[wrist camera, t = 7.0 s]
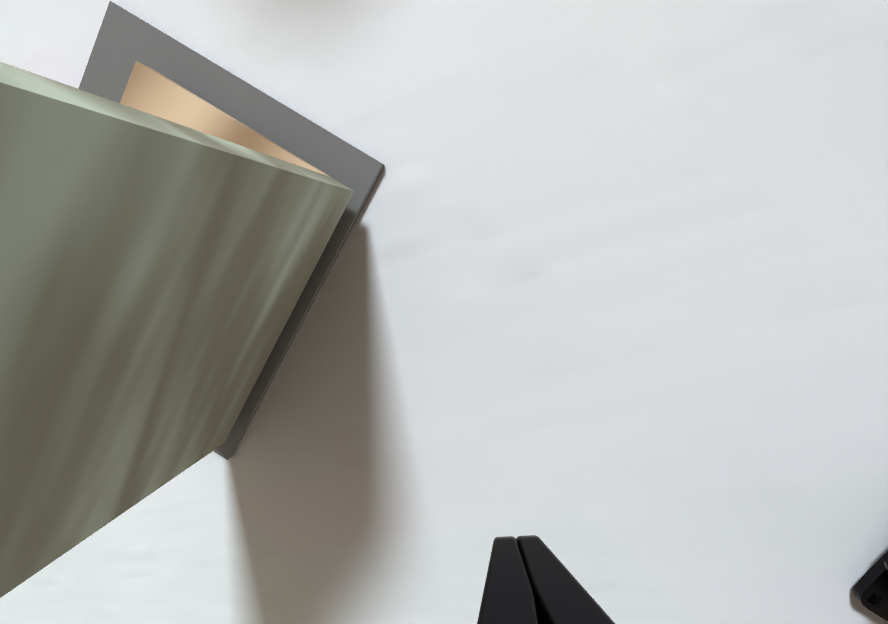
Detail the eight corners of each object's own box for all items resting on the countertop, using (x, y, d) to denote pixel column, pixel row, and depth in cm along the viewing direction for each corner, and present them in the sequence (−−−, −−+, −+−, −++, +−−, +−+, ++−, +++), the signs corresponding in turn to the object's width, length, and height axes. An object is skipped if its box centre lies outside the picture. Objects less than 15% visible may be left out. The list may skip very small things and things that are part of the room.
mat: (384, 165, 19) (382, 164, 19) (231, 456, 23) (227, 459, 22) (115, 4, 20) (110, 0, 20) (5, 309, 24) (-1, 310, 23)
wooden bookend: (361, 193, 19) (-104, 49, 5) (235, 434, 22) (-304, 808, 8) (163, 74, 20) (-791, -379, 5) (64, 323, 23) (-748, 472, 8)
